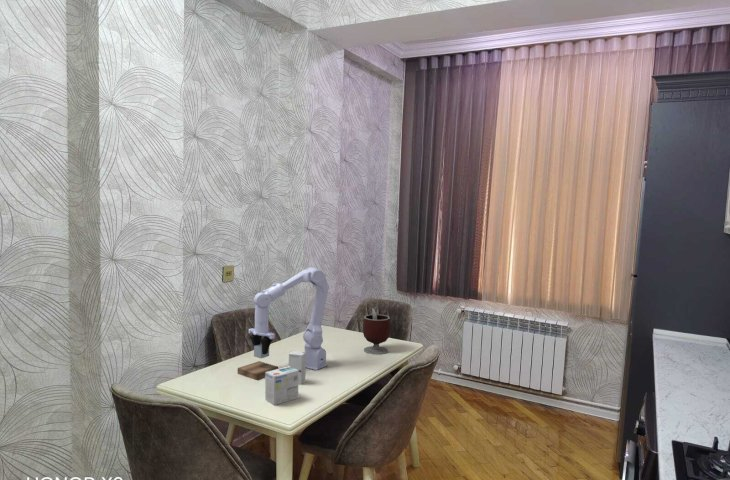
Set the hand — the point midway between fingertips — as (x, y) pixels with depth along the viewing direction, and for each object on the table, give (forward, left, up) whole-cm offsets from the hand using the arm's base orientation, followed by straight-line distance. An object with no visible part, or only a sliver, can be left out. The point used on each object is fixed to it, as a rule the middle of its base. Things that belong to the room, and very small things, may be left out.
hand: (261, 352), depth 203 cm
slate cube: (0, 0, -2) cm, 2 cm away
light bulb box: (-28, +14, -9) cm, 33 cm away
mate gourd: (-19, -59, -9) cm, 62 cm away
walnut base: (0, +1, -9) cm, 9 cm away
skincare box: (-20, -2, -9) cm, 22 cm away
